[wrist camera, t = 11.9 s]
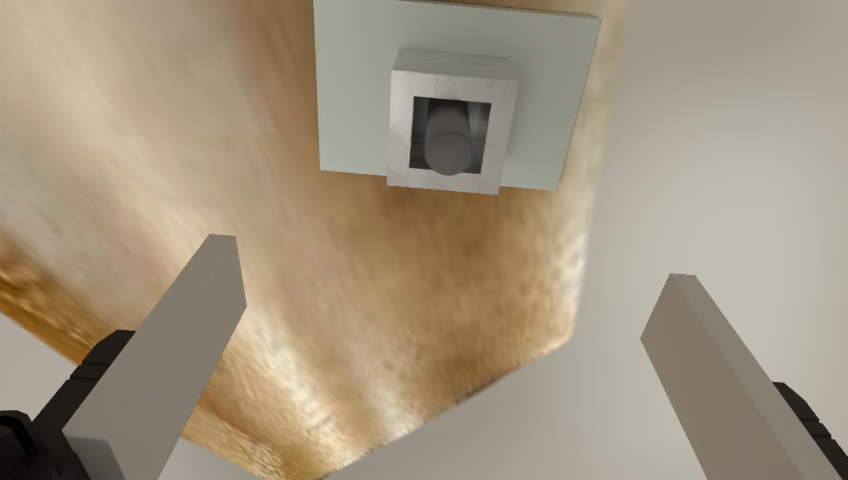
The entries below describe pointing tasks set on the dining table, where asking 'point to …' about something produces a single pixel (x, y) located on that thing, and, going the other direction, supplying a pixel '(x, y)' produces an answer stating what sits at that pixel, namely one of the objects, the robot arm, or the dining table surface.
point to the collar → (456, 81)
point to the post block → (445, 118)
